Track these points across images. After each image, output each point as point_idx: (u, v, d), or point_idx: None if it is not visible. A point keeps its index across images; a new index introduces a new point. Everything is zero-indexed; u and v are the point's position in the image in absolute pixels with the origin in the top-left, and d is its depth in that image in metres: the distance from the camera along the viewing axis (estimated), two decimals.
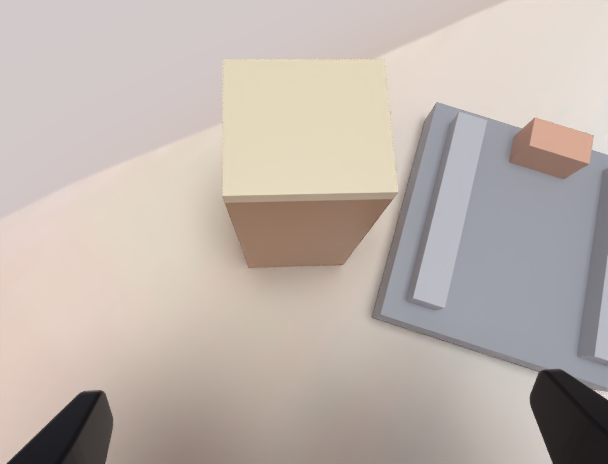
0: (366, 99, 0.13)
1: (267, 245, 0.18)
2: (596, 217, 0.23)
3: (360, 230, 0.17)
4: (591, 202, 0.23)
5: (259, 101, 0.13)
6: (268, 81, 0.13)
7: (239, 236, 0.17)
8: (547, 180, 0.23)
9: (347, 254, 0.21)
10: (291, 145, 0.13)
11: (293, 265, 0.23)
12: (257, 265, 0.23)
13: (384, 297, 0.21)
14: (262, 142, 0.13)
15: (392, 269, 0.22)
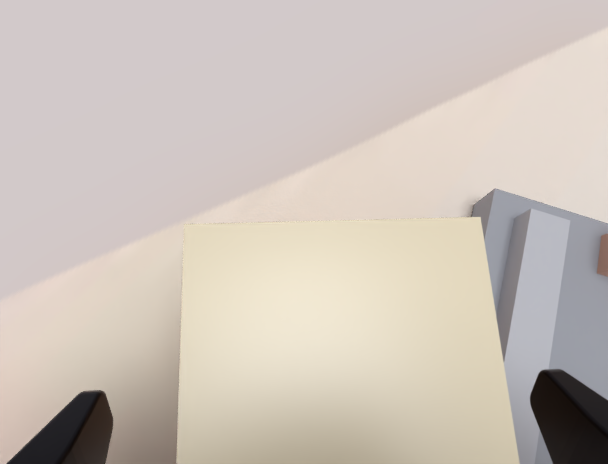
0: (452, 300, 0.07)
1: None
2: None
3: None
4: None
5: (250, 311, 0.07)
6: (268, 267, 0.07)
7: None
8: None
9: None
10: (313, 406, 0.07)
11: None
12: None
13: None
14: (256, 401, 0.07)
15: None
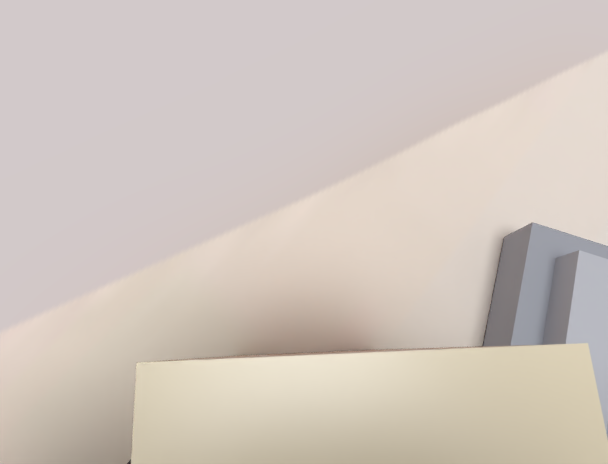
0: None
1: None
2: None
3: None
4: None
5: None
6: (267, 434, 0.05)
7: None
8: None
9: None
10: None
11: None
12: None
13: None
14: None
15: None
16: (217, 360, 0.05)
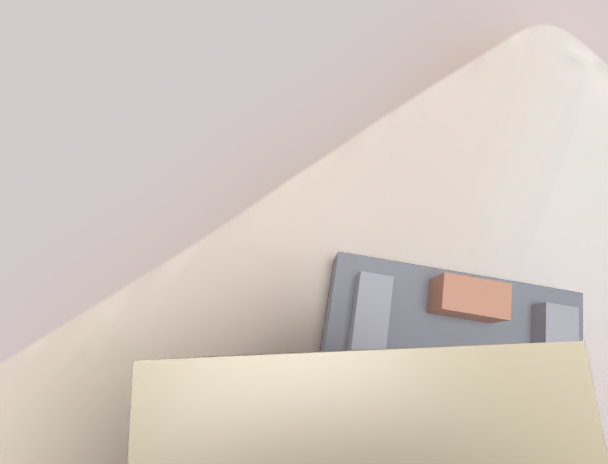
0: None
1: None
2: None
3: None
4: None
5: None
6: (263, 432, 0.05)
7: None
8: (471, 328, 0.21)
9: None
10: None
11: None
12: None
13: None
14: None
15: None
16: (214, 358, 0.05)
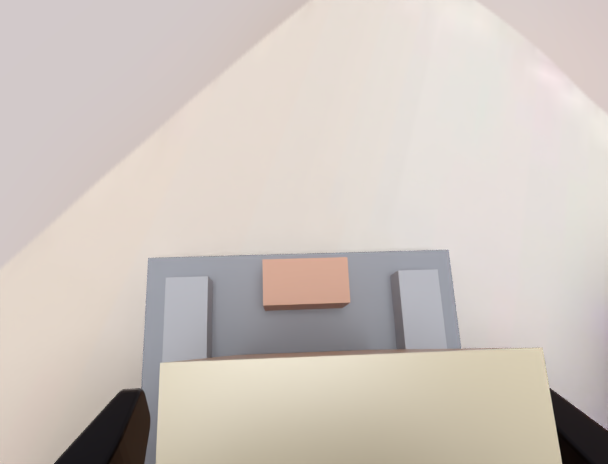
0: None
1: None
2: (397, 347, 0.17)
3: None
4: (385, 327, 0.17)
5: None
6: (269, 423, 0.05)
7: None
8: (321, 318, 0.17)
9: None
10: None
11: None
12: None
13: None
14: None
15: None
16: (227, 361, 0.06)
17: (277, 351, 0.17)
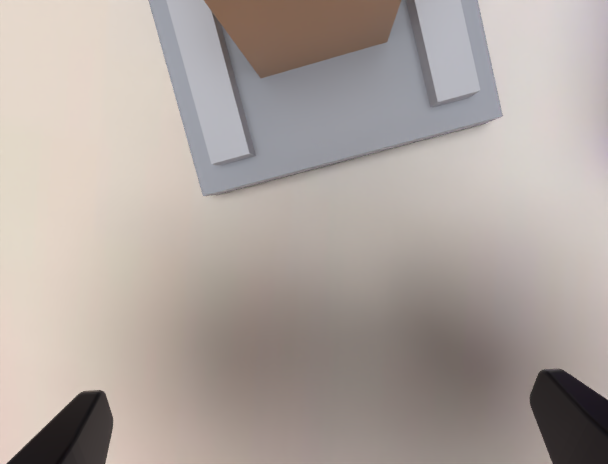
0: None
1: (267, 23, 0.12)
2: None
3: None
4: None
5: None
6: None
7: (215, 10, 0.11)
8: None
9: (391, 16, 0.14)
10: None
11: (318, 60, 0.17)
12: (270, 71, 0.17)
13: (198, 175, 0.18)
14: None
15: (188, 140, 0.18)
16: None
17: None
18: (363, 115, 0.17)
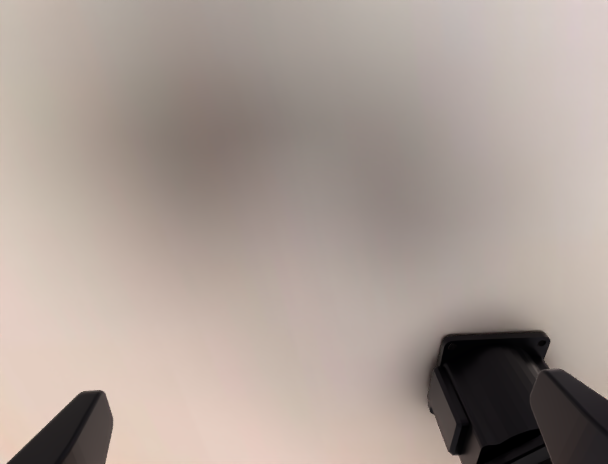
0: None
1: None
2: None
3: None
4: None
5: None
6: None
7: None
8: None
9: None
10: None
11: None
12: None
13: None
14: None
15: None
16: None
17: None
18: None
